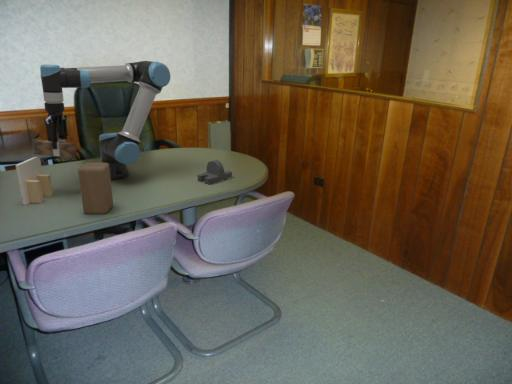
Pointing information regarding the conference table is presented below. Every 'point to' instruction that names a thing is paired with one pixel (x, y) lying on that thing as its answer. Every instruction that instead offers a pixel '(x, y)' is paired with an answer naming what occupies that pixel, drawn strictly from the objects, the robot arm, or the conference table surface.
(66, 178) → the conference table surface
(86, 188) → the wooden block
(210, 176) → the bracket
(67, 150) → the rail
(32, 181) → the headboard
